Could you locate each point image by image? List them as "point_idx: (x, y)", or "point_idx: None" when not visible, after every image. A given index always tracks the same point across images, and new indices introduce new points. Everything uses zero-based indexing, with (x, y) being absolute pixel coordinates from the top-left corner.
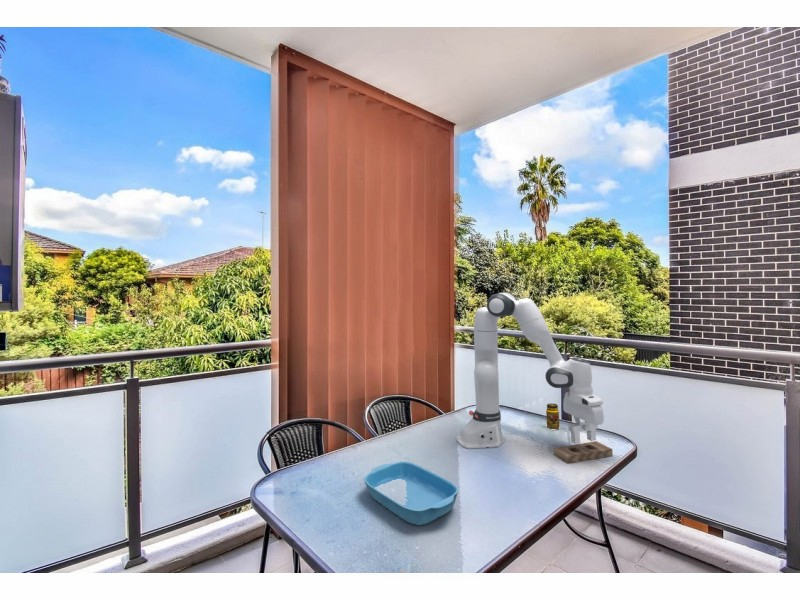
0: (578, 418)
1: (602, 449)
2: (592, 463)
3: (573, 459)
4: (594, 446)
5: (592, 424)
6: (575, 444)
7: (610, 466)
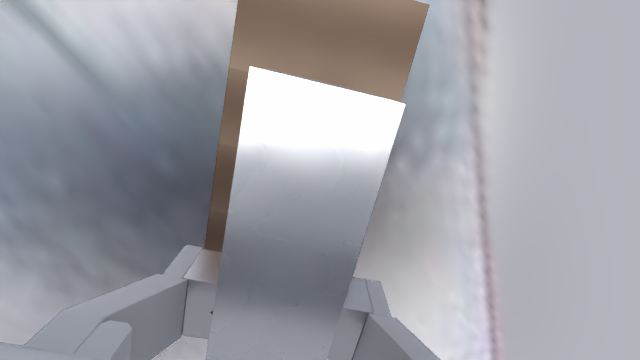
0: (114, 331)
1: (386, 86)
2: (394, 221)
3: None
4: None
5: (367, 209)
6: (214, 176)
7: (478, 173)
